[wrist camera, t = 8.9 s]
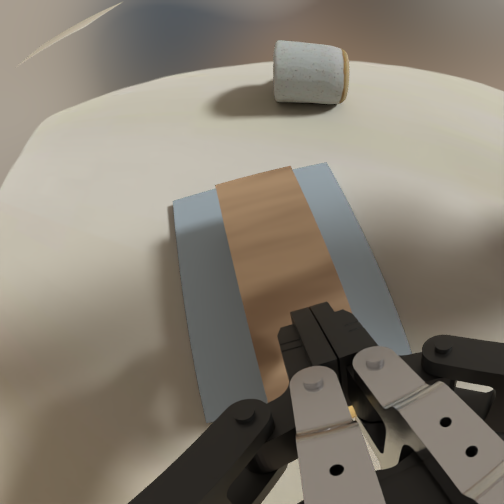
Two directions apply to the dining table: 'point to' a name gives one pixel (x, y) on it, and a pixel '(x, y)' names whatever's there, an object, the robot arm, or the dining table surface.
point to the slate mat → (229, 298)
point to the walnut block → (276, 262)
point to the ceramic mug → (310, 73)
